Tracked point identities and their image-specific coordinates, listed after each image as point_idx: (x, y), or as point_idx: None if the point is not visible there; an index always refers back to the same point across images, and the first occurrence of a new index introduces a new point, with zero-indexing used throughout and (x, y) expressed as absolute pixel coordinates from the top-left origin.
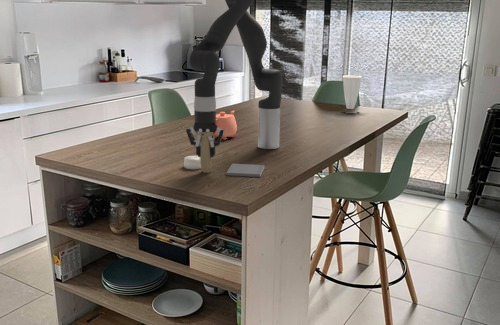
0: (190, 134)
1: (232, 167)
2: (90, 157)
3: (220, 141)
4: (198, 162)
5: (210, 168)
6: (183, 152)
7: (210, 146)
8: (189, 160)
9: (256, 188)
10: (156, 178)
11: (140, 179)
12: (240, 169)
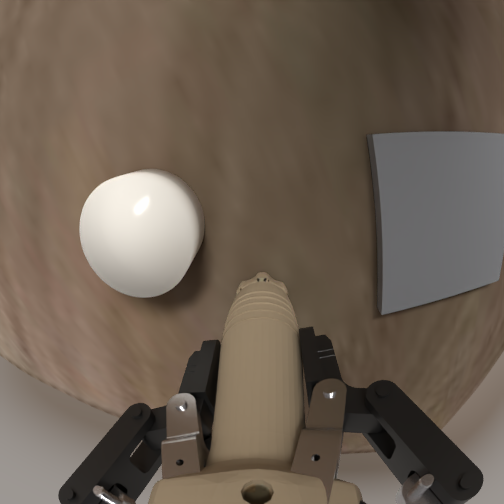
0: (134, 498)
1: (395, 219)
2: None
3: (403, 405)
4: (187, 269)
5: (286, 294)
6: (20, 32)
7: (303, 403)
8: (139, 295)
9: (465, 374)
10: (135, 398)
11: (108, 406)
12: (436, 242)
